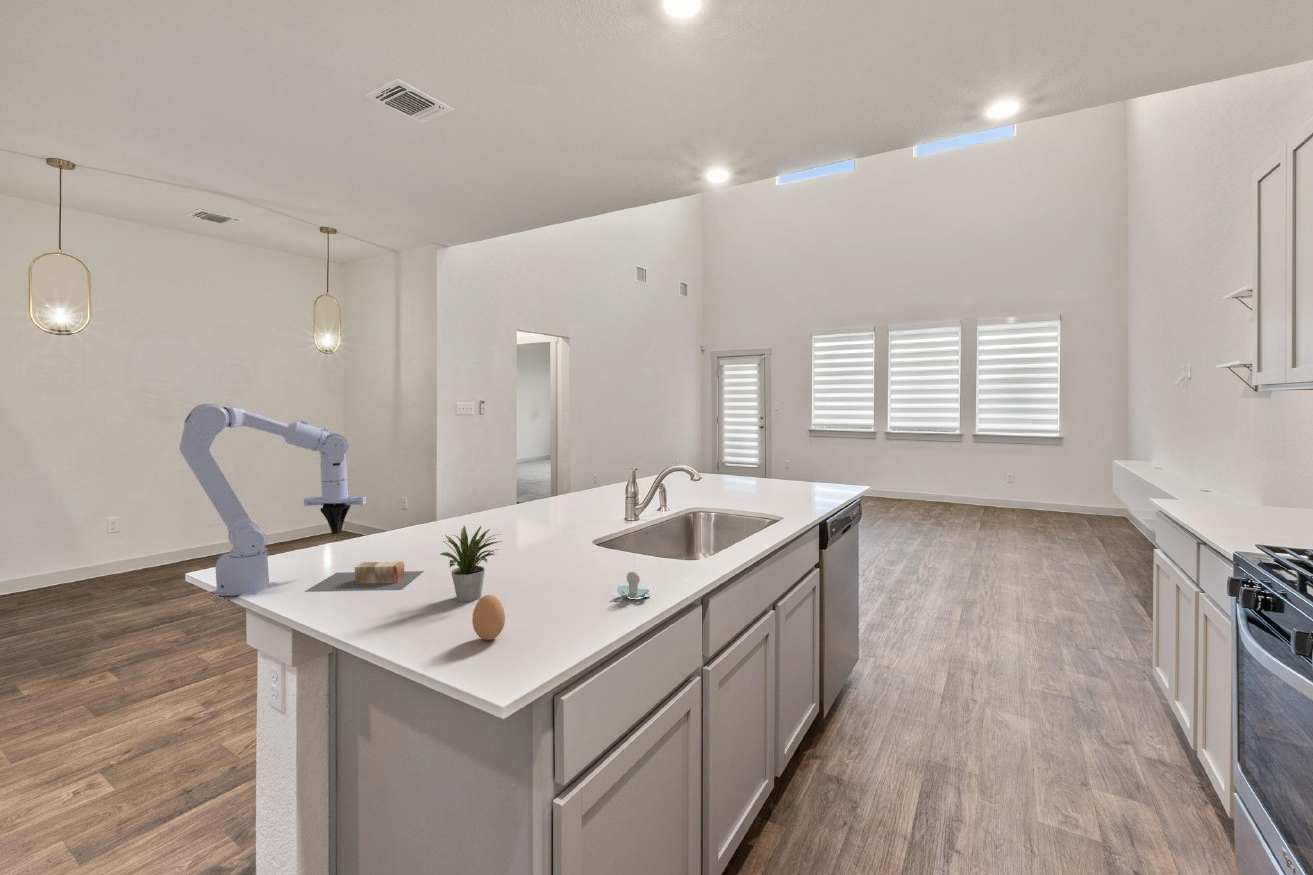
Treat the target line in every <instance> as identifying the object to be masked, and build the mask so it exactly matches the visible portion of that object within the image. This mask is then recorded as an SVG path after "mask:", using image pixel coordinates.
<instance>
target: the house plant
mask: <svg viewBox="0 0 1313 875" xmlns="http://www.w3.org/2000/svg"><path fill="white" fill-rule="evenodd" d="M481 529H482V524H481V525H480V526H479V528H478V529H477V530H476V531H475V533H474V534H473V536H472V537H471V539H470V541H469V536H468V534H467V529H466V526H465V525H463V528H461V531H460V537H459V536H458V535H454V534H452V536H454V537H456V538H457V539H458V541H459V543H460V546H459V545H458V544H457V542H456V540H455V541H454V539H453V538H451V537H450V536H448V535H446V534H444V536H445V537H446V539H447V540H445V541H444V540H443V541H442V542H443V543H444V544H446V545H447V546H448V547H449V548H450V549H451V550H452V551H453V552H454V553H455V555H456V556H457V557H456V556H455V555H454V554H453V553H451V552H447V551H445V552H444V551H443V552H442V553H440V554H439V555H441V556H445V557H448V558H450V560H449V563H448V566H449V568H448V569H450V568H451V567H453V566H455V565H457V566H458V567H456V568H454V569H452V570H451V576H452V580H453V585H454V590H455V596H456V601H459V602H467V603H468V602H473V601H477V600H480V599H481V598H482V593H483V585H484V578H485V571H486V568H485V567H484V566H481V565H480V563H481V562H482V561H484V562H485V563H486V564H487V565H488V559H487V557H490V556H496V551H498V550H499V548H498V549H497V548H495V549H492V550H489V549H488V550H483V549H485V548H487V547H489V546H491V545H494V544H498V543H501V542H503V540H500V541H491V540H495V539H496V540H497V538H496V537H495V536H499V535H500V533H498V534H493V535H490V536H489V537H487V538H485V537H486V535H487V533H488V532H489V531H491V528H489V529H488V530H485V531H484V532H483V533H482V534H481V535H480V536H479V538H478V535H479V532H480V531H481ZM492 537H494V538H492ZM489 541H491V542H489ZM447 542H448V543H449V544H451V545H452V546H453V547H454V548H452V547H451V546H450V545H449V544H448V543H447ZM454 549H455V550H454ZM482 550H483V551H482ZM480 551H481V552H480Z"/></svg>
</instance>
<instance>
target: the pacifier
mask: <svg viewBox="0 0 1313 875" xmlns="http://www.w3.org/2000/svg"><path fill="white" fill-rule="evenodd" d="M640 580H641V578H640V576H639V574H638V573H636V572H635V571H629V572H628V573H627V574H626V581H627V583H628V586H627V585H618V586H617V589H616V590H617V592H618V594H619V595H621V596H623V597H625V598H626V597H630V598H638V597H644V596H645V594H646V595H649V594H650V595H651V593H650V588H649V589H645V588H639V587H638V586H639V585H638V584H639V583H640Z"/></svg>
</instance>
